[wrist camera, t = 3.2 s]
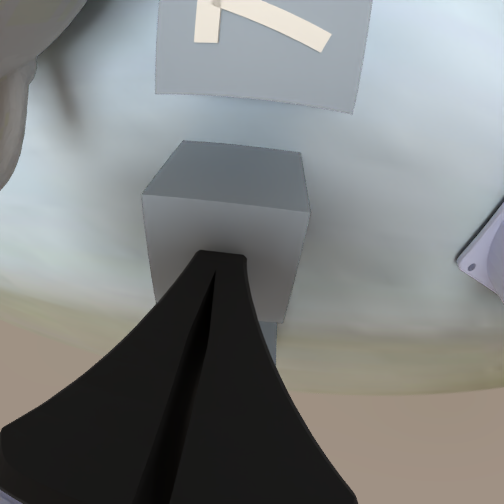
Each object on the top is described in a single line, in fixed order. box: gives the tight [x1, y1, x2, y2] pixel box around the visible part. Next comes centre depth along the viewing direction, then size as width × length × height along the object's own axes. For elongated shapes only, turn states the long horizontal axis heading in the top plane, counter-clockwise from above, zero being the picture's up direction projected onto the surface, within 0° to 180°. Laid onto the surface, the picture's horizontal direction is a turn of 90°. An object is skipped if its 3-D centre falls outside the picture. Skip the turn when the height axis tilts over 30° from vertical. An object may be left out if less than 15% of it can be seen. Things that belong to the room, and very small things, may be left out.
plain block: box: [141, 141, 311, 323], centre depth 11 cm, size 4×4×4 cm
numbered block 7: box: [155, 0, 373, 114], centre depth 7 cm, size 4×4×5 cm
